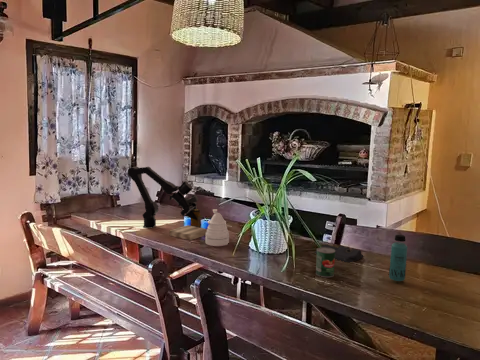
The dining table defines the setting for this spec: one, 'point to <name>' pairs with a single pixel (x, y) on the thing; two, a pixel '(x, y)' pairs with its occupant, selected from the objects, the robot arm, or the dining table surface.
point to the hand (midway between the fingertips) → (198, 218)
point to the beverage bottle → (398, 259)
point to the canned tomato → (325, 262)
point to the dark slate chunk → (345, 253)
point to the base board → (188, 232)
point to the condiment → (196, 222)
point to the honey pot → (217, 231)
